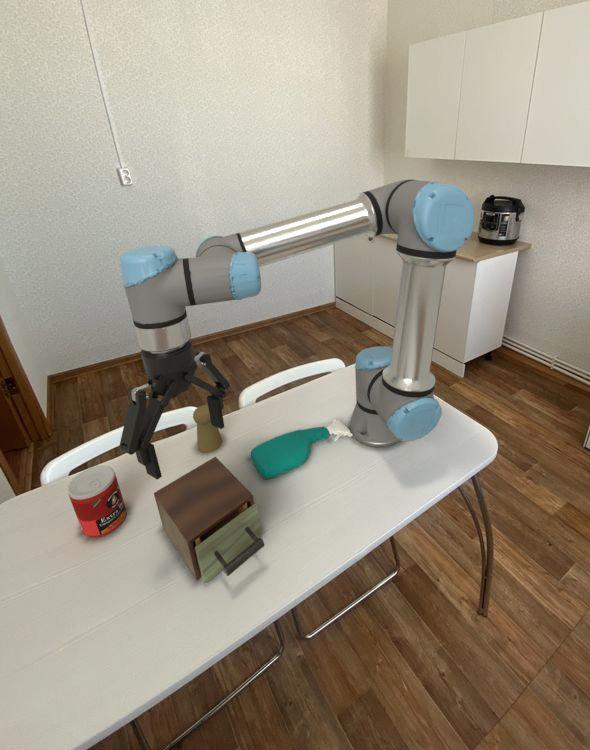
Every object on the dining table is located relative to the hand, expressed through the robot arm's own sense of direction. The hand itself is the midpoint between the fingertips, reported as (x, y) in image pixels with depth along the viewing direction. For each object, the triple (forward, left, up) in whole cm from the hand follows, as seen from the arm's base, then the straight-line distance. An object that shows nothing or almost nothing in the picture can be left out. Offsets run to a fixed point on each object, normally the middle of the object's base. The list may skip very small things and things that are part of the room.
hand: (188, 448), depth 69 cm
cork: (+5, -25, -20) cm, 33 cm away
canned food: (+21, -5, -20) cm, 30 cm away
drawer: (-4, +4, -19) cm, 20 cm away
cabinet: (-1, 0, -20) cm, 20 cm away
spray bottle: (-19, -20, -20) cm, 34 cm away
